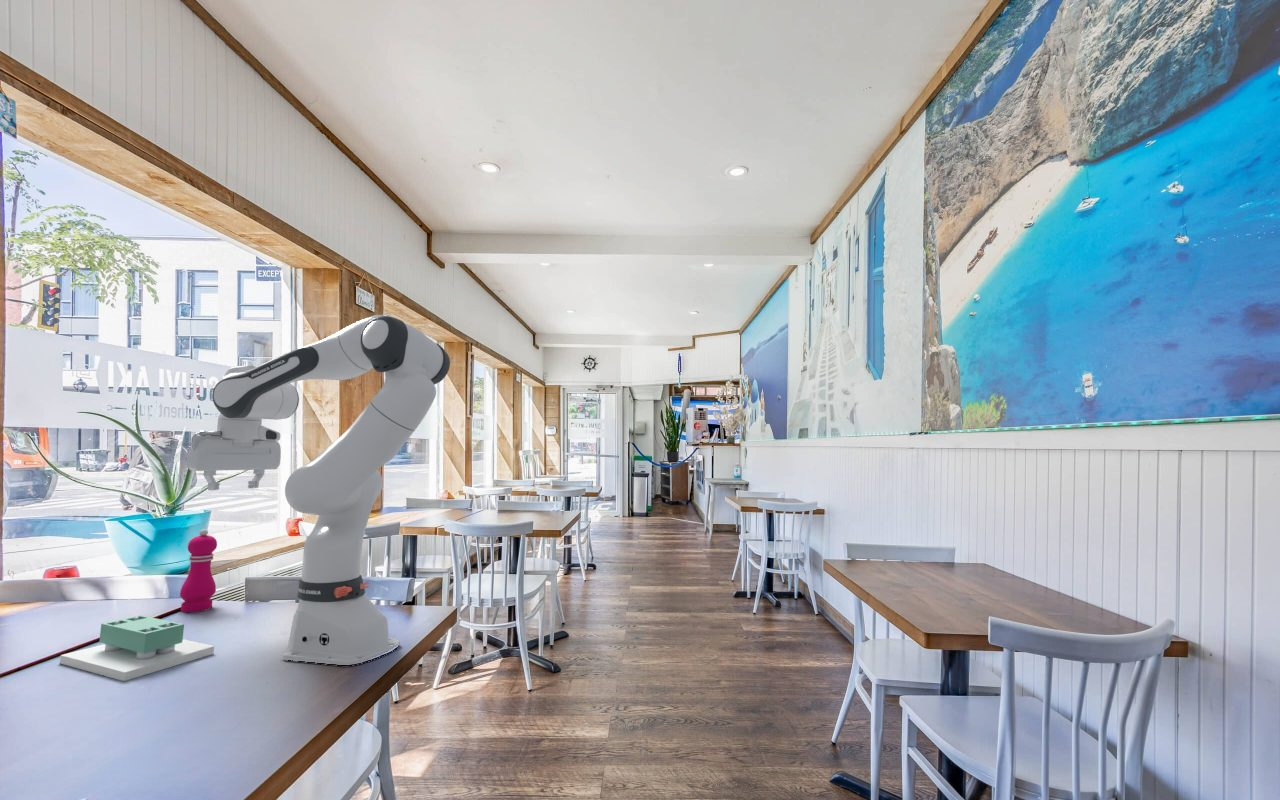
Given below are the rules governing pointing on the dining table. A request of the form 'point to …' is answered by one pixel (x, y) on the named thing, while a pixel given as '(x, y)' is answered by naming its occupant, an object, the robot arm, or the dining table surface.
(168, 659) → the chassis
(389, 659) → the dining table surface
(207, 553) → the pepper mill
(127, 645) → the green block with holes
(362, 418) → the robot arm
